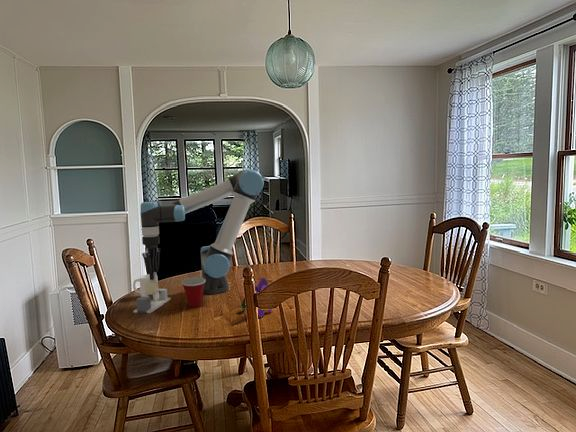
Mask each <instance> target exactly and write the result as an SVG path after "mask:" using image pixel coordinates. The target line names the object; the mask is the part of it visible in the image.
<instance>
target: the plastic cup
mask: <svg viewBox="0 0 576 432" xmlns="http://www.w3.org/2000/svg"><path fill="white" fill-rule="evenodd" d="M205 281H206V280H205V279H204V278H202V276H201V277H199V276H198V277H188V278H185V279H182V280H181V282H180V283H181V285H182V288H183V290H184V293H185V298H186V301H187V306H188V307H189V308H191V309H192V308H193V309H195V308H199V307H202V303H203V297H204V293H203V289H204V283H205Z"/></svg>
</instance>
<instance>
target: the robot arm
mask: <svg viewBox="0 0 576 432" xmlns="http://www.w3.org/2000/svg"><path fill="white" fill-rule="evenodd" d="M264 185H265V180H264V177H263V176H262V174H261V173H260V172H258V171H256V170H254V169H244V170H241V171H239V172H237V173H236V174H234V175H232V176H230V177H227V178H226V180H225V181H223V182H220V183H218V184H215V185H213V186H210V187H208V188H206V189H203V190H201V191H198V192H196V193H193V194H190V195H188V196H185V197H183V198H180V199H178V200H176V201H173V202H169V203H167V204H166V205H158V202H157V201H144V202H142V203H140V211H139V212H140V222H141V223H140V224H141V236H142V239H141V241H142V243H141V244H142V245H144V246H145V247H144V252H142V254H141V256H142V257H143V262H144V267H145V271H146V273H147V274H149V275H150V281H158V275H157V272H159V269H160V256H161V255H160V254H161V248H158V245H159V244H160V226H159V224H160V223H173V222H177V223H178V222H183V221H185V220H186V214H189V213H190V212H193V211H196V210H198V209H201V208H204V207H205V206H206V207H207V206H208V205H211V204H213V203H216V202H218V201H221V200H223V199H225V198H228V197H231V196H233V198H232V201H231V204H230V206H229V208H228V210H227V212H226V215H225V218H224V220H223V222H222V225H221V227H220V230H219V232H218V234H217V236H216V239H215V241H214V242H213V243H212V244H210V245H207V246H206V245H205V246H202V247H200V260H201V261H200V263H201V278H204V279H205V280H206V281H205V283H204V289H203V294H206V295H214V294H215V295H216V294H223V293H225V292H228V291H229V290H230V283H229V281H228V278H227V276H226V274H227V273H228V272H229V270H230V266H231V265H230V263H231V260H232V257H233V255H234V251H233V246H234V245H235V242H236V240H237V238H238V235H239V232H240V230H241V228H242V226H243V222H244V221H245V219H246V216H247V213H248V210H249V209H250V206H251V204H252V203H255V202H256V200H257V198H258V195H259V194H260V193H261V192H262V191H263V188H264Z"/></svg>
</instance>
